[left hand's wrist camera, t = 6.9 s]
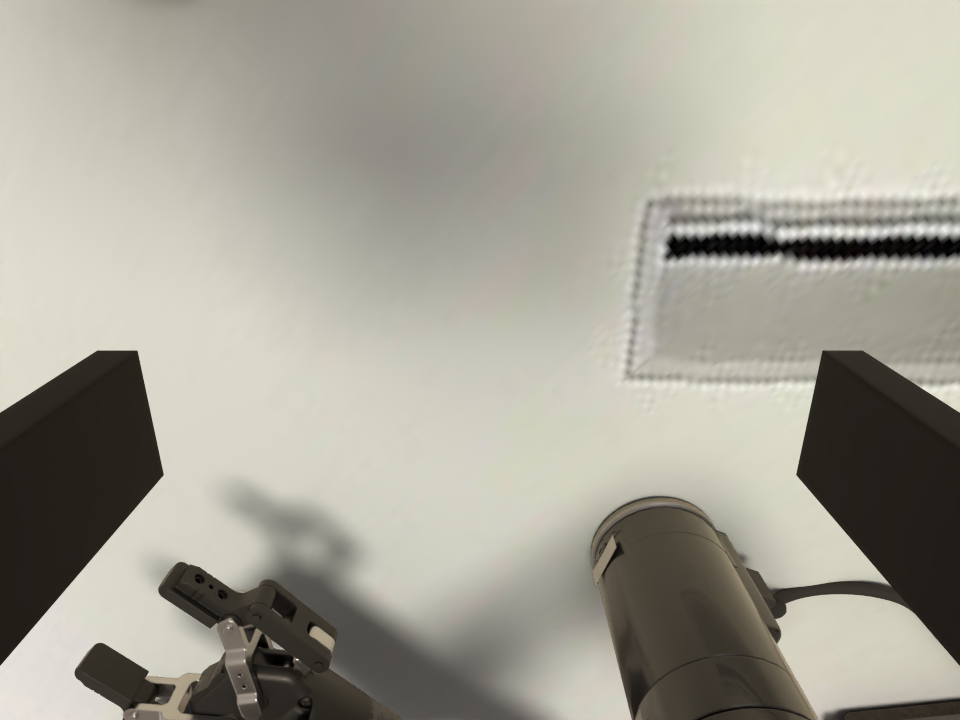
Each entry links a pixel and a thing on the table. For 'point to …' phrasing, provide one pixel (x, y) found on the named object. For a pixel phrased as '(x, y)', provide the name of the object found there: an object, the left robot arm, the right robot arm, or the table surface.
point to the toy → (911, 713)
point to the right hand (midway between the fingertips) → (124, 617)
